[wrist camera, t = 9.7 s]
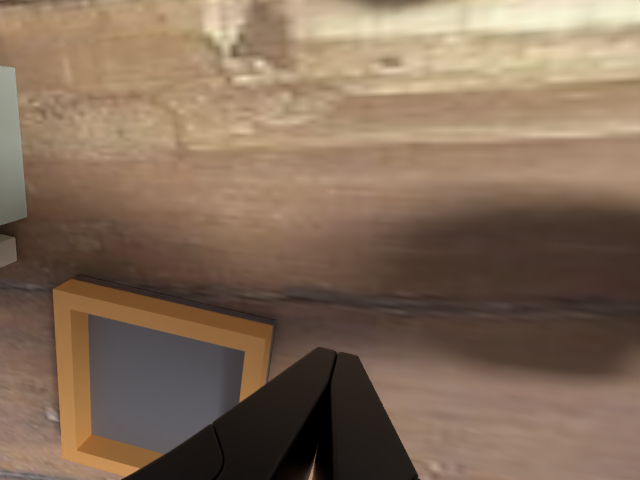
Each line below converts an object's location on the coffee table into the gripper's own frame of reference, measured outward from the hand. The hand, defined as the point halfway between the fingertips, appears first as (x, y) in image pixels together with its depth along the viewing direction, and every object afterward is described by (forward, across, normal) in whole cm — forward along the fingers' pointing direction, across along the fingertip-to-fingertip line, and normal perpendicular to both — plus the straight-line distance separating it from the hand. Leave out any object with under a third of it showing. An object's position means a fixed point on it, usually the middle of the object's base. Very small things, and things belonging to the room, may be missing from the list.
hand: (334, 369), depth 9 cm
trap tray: (+13, +10, +13) cm, 21 cm away
